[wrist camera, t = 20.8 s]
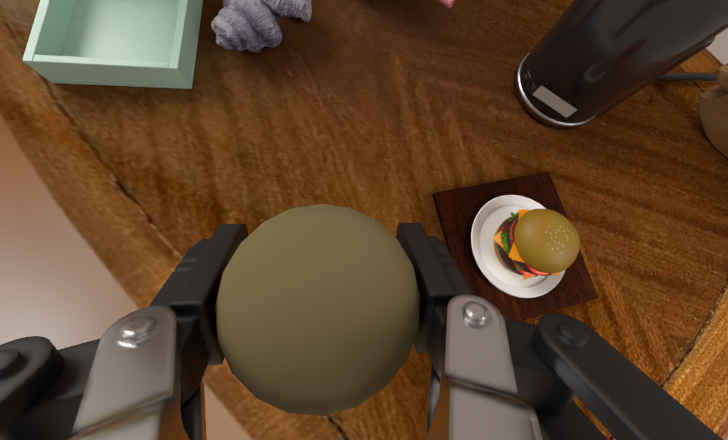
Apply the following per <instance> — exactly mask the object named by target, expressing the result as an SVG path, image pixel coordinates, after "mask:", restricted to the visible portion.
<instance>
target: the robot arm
mask: <svg viewBox="0 0 728 440" xmlns="http://www.w3.org/2000/svg"><path fill="white" fill-rule="evenodd" d="M727 28H728V0H573V1H572V3H571V4H570V5H569V6H568V7H567V9H566V10H565V11H564V12H563V13H562V15H561V16H560V17H559V18H558V19H557V21H556V22H555V23H554V24H553V25H552V27H551V28H550V29H549V30H548V31H547V33H546V34H545V35H544V36H543V38H542V39H541V40H540V41H539V42H538V44H537V45H536V46H535V47H534V48H533V50H532V51H531V52H530V53H529V54H528V55H526V56H525V58H524V59H523V60H522V61H521V62H520V64H519V65H518V67H517V69H516V71H515V75H514V88H515V92H516V95H517V97H518V99H519V101H520V103H521V104H522V106H523V107H524V108H525V109H526V111H527V112H528V113H529V114H531V115H532V116H533V117H534V118H535V119H537V120H538V121H540V122H542V123H544V124H546V125H548V126H551V127H554V128H559V129H573V128H577V127H580V126H582V125H584V124H585V123H587V122H588V121H590V120H591V119H593V118H594V117H600V116H601V115H603V114H604V113H606V112H608V111H609V110H611V109H612V108H614V107H615V106H617V105H618V104H620V103H621V102H623V101H624V100H626V99H628V98H629V97H631V96H632V95H634V94H635V93H637V92H638V91H640V90H641V89H643V88H644V87H646V86H648V85H649V84H651V83H652V82H654V81H655V80H659V81H673V80H705V81H715V80H717V78H716V74H711V73H670V74H666V73H668V72H669V71H671V70H672V69H674V68H675V67H677V66H678V65H680V64H681V63H683V62H685V61H686V60H688V59H689V58H691V57H692V56H694V55H695V54H697V53H698V52H700V51H701V50H703V49H705V48H706V47H708V46H709V45H710V44H711V43H712V42H713V41H714V40H715V37H716V35H718V34H719V33H721V32H722V31H724V30H725V29H727ZM247 237H248V230H247V227H246V225H245V224H220V225H219V226H218V228H217V229H216V231H215V233H214V234H213V236H212V237H211V239H203V240H201V241H200V242H198V243H197V244H196V245H194V246H193V247H191V248H190V249H189V250H188V252H187V253H186V255H185V256H184V257H183V259H182V262H180V263H179V264H178V266H177V267H176V269H175V272H173V273H172V274H171V276H170V277H169V278H168V280H167V281H166V283H165V284H164V285H163V287H162V288H161V290H160V291H159V293H158V294H157V295H156V297H155V298H154V300H153V301H152V302H151V304H150V305H149V307H147V308H143V309H140V310H137V311H135V312H132V313H130V314H128V315H126V316H124V317H122V318H121V319H119V320H118V321H116V322H115V323H114V324H113V325H112V326H110V327H109V328H108V329H107V331H106V332H105V333H104V334H103V336H102V337H101V338H100V339H97V340H93V341H90V342H86V343H82V344H79V345H75V346H71V347H68V348H64V349H60V350H57V349H56V348H55V347H54V345H52V343H51V342H50V340H49V339H47V338H44V337H39V336H33V337H25V338H20V339H16V340H13V341H10V342H7V343H4V344H2V345H0V440H206V421H205V398H204V397H205V396H204V383H203V381H202V377H203V375H204V372H205V370H206V367H207V365H216V364H222V363H223V360H224V357H225V356H224V353H223V351H222V349H221V346H220V344H219V342H218V335H217V323H216V311H215V304H216V300H217V296H218V292H219V287H220V283H221V279H222V275H223V272H224V270H225V268H226V267H227V265H228V263H229V262H230V260H231V258H232V257H233V255H234V253H235V251H236V250H237V248H238V246H239V245H240V243H241V242H243V241H244V240H245V239H246V238H247ZM396 239H397V240H398V241H399V243H400V245H401V246H402V248H403V250H404V251H405V253H406V255H407V256H408V258H409V260H410V262H411V263H412V265H413V268H414V272H415V277H416V281H417V285H418V289H419V293H420V306H419V323H418V330H417V332H416V335H415V338H414V344H415V348H416V351H417V353H423V352H429V355H430V358H431V366H430V370H429V379H428V391H427V402H426V413H425V424H424V435H423V440H607V439H606V437H605V436H604V435H603V434H602V433H601V432H600V431H599V430H598V428H597V427H596V426H595V425H594V424H593V423H592V422H591V421H590V419H589V418H588V417H587V416H586V415H585V414H584V413H583V412H582V410H581V409H580V408H579V407H578V406H577V405H576V404H575V403H574V401H573V399H574V398H575V396H577V397H578V398H579V399H580V400H581V401H582V402H583V403H584V404H585V405H586V406H587V408H588V409H589V410H590V411H591V412H592V413H593V414H594V415H595V416H596V417H597V419H598V420H599V421H600V422H601V423H602V424H603V425H604V426H605V427H606V428H607V429H608V431H609V432H610V433H611V434H612V435H613V436H614V437H615V438H616V439H617V440H723V439H721V438H720V437H719V436H718V435H717V434H715V433H714V432H713V431H712V430H711V429H710V428H708V427H707V426H706V425H705V424H704V423H702V422H701V421H700V420H699V419H698V418H697V417H695V416H694V415H693V414H692V413H691V412H689V411H688V410H687V409H686V408H685V407H684V406H682V405H681V404H680V403H679V402H678V401H676V400H675V399H674V398H673V397H672V396H671V395H669V394H668V393H667V392H666V391H665V390H663V389H662V388H661V387H660V386H659V385H658V384H656V383H655V382H654V381H653V380H652V379H650V378H649V377H648V376H647V375H646V374H645V373H643V372H642V371H641V370H640V369H639V368H637V367H636V366H635V365H634V364H633V363H631V362H630V361H629V360H628V359H627V358H626V357H624V356H623V355H622V354H621V353H620V352H618V351H617V350H616V349H615V348H614V347H613V346H611V345H610V344H609V343H608V342H607V341H605V340H604V339H603V338H602V337H601V336H600V335H598V334H597V333H596V332H595V331H594V330H592V329H591V328H590V327H589V326H587V325H586V324H584V323H583V322H581V321H579V320H577V319H575V318H573V317H570V316H567V315H564V314H559V313H548V314H545V315H543V316H542V317H541V318H540V320H539V322H538V324H537V325H534V324H529V323H525V322H520V321H516V320H511V319H507V318H504V317H503V316H502V314H501V313H500V311H499V310H498V309H497V308H496V307H495V306H494V305H493V304H491V303H490V302H488V301H487V300H485V299H483V298H480V297H477V296H475V294H474V293H473V291H472V289H471V288H470V286H469V284H468V282H467V281H466V279H465V277H464V276H463V274H462V272H461V271H460V269H459V267H458V266H457V265H456V262H455V260H454V259H453V257H451V254H450V252H449V250H448V249H447V247H446V245H445V244H444V243H442V242H441V241H440V240H439V239H437V238H436V237H435V236H427V235H426V233H425V231H424V229H423V227H422V225H421V224H420V223H399V224H398V228H397V235H396Z"/></svg>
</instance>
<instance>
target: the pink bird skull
mask: <svg viewBox="0 0 728 440" xmlns="http://www.w3.org/2000/svg"><path fill="white" fill-rule="evenodd" d="M438 1H439V2H441V3H442V4H444V5H445V6H446V7H448V8H449V9H450V8H451V7H452V6H453V4H454V1H455V0H438Z"/></svg>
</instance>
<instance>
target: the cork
mask: <svg viewBox="0 0 728 440" xmlns="http://www.w3.org/2000/svg"><path fill="white" fill-rule="evenodd" d="M419 306H420V293H419V289H418V285H417V281H416V277H415V272H414V268H413V265H412V263H411V262H410V260H409V258H408V256H407V255H406V253H405V251H404V250H403V248H402V246H401V245H400V243H399V241H398V240H397V239H396V238H395V237H394V236H393V235H392V234H391V233H390V232H389V231H387V230H386V229H385V228H384V227H383V226H382V225H381V224H380V223H379V222H378V221H377V220H375V219H373V218H371V217H368V216H366V215H364V214H362V213H360V212H358V211H356V210H353V209H351V208H347V207H340V206H333V205H326V204H317V205H311V206H304V207H298V208H292V209H290V210H288V211H285V212H283V213H281V214H279V215H277V216H275V217H273V218H271V219H269V220H267V221H265V222H263V223H262V224H261V225H260V226H259V227H258V228H257V229H256V230H255V231H253V232H252V233H251V234H250V235H249V236H248V237H247V238H246V239H245V240H244V241H243V242H241V243H240V245H239V246H238V248H237V250H236V251H235V253H234V255H233V257H232V258H231V260H230V262H229V263H228V265H227V267H226V268H225V270H224V272H223V275H222V279H221V283H220V287H219V292H218V296H217V300H216V304H215V311H216V323H217V335H218V342H219V344H220V346H221V349H222V351H223V353H224V356H225V358H226V360H227V362H228V365H229V367H230V369H231V371H232V373H233V374H234V375H235V376H236V377H237V378H238V379H239V380H240V381H241V382H242V384H243V385H244V386H245V387H246V388H247V389H248V390H249V391H250V392H251V393H252V394H253V395H254V396H255V397H256V398H258V399H260V400H262V401H264V402H266V403H268V404H270V405H272V406H274V407H277V408H279V409H281V410H283V411H285V412H287V413H296V414H308V415H320V416H324V415H327V414H331V413H334V412H338V411H342V410H345V409H349V408H353V407H356V406H358V405H359V404H361V403H362V402H364V401H365V400H367V399H368V398H370V397H371V396H373V395H374V394H376V393H377V392H378V391H380V390H381V389H383V388H384V387H386V385H387V384H388V383H389V382H390V380H391V379H392V378H393V376H394V375H395V374H396V372H397V371H398V370H399V369H400V367H401V366H402V365H403V363H404V362H405V361H406V359H407V357H408V354H409V351H410V349H411V346H412V343H413V341H414V338H415V335H416V332H417V330H418V323H419Z"/></svg>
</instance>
